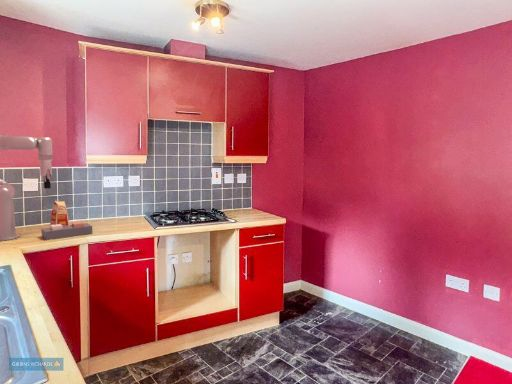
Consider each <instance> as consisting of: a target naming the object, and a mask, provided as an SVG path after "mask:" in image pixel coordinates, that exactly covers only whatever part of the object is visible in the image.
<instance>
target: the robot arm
mask: <svg viewBox="0 0 512 384" xmlns="http://www.w3.org/2000/svg"><path fill="white" fill-rule="evenodd" d="M7 150H26V151H27V150H28V151H30V150H37V154H38V156H37V157H38V161H39V176H40V177H42V178H43V187H44V189H51V178H52V176H53V169H52V168H53V167H52V165H53V164H52V161H53V160H54V157H53V155H54V153H53V140H52V138H51V137H48V136H47V137H46V136H44V137H35V136H21V135H19V136H18V135H16V136H15V135H14V136H13V135H5V134H4V135H3V134H0V151H7ZM15 195H16V189H15V188H14V186H13V185H12V184H11V183H9V182H7V181H6V180H4V179H2V178H1V177H0V242H1V241H11V240H15V239H18V238H19V237H20V234H19V233H16V221H15V220H16V219H15V218H16V217H15V205H14V199H13V198H14V196H15Z"/></svg>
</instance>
